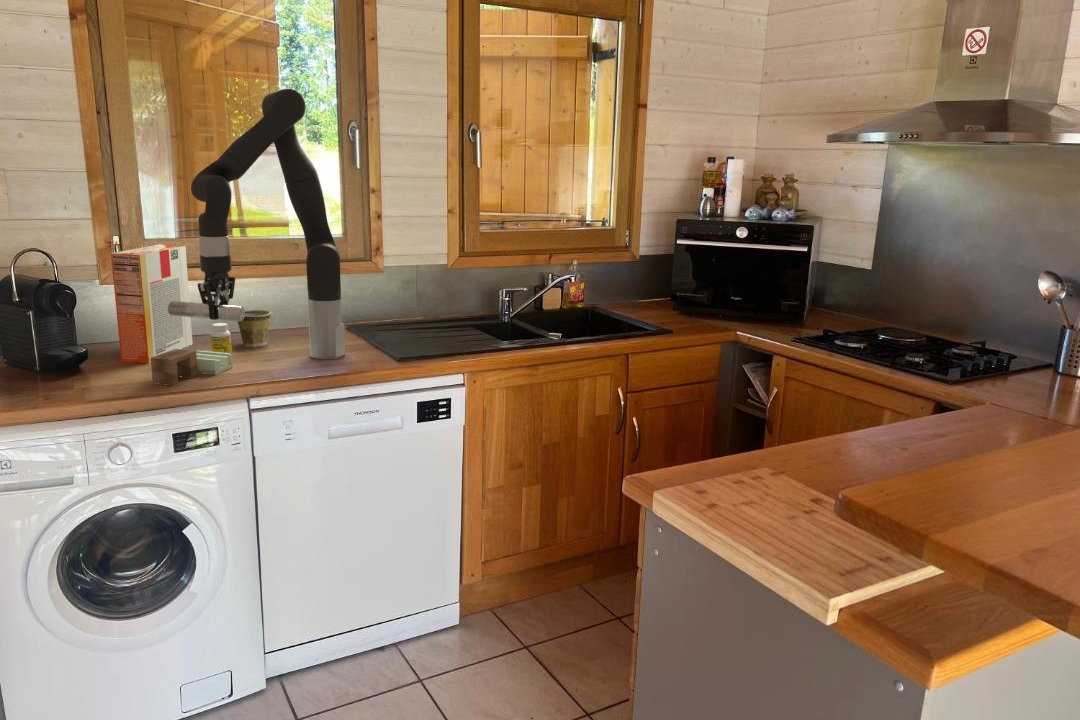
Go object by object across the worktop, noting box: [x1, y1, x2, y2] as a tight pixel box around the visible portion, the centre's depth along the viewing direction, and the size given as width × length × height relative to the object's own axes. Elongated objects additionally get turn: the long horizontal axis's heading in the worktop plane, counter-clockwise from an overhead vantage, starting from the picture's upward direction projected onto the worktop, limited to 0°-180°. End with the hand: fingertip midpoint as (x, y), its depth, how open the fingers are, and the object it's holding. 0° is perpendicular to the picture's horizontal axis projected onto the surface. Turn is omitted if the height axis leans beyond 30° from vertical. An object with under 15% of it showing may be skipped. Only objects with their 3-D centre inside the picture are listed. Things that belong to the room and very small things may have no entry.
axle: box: [168, 301, 245, 322], centre depth 208 cm, size 20×4×4 cm, turn 79°
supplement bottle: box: [210, 322, 233, 356], centre depth 224 cm, size 5×5×10 cm
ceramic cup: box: [236, 309, 272, 348], centre depth 240 cm, size 13×10×10 cm
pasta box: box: [110, 243, 193, 364], centre depth 223 cm, size 23×8×30 cm, turn 175°
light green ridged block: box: [196, 350, 233, 376], centre depth 212 cm, size 10×8×4 cm
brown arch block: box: [150, 349, 199, 386], centre depth 201 cm, size 6×10×7 cm, turn 169°
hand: (219, 317), depth 208 cm, fingers closed on axle, 4 cm apart
